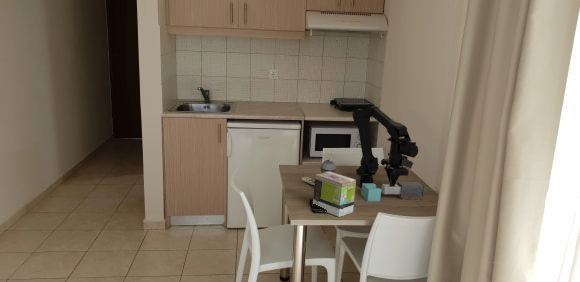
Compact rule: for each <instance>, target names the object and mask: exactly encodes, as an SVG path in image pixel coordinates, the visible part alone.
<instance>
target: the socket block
mask: <svg viewBox="0 0 580 282" xmlns="http://www.w3.org/2000/svg"><path fill="white" fill-rule="evenodd" d="M381 189H382V188H379V187H378V188H377V184H375V183H374V182H373V183H362V188H361V193H360V194H361V196H362V197H363V199H365V200H366V201H367V202H381V195H382V192H381Z"/></svg>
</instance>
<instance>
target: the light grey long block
mask: <svg viewBox="0 0 580 282" xmlns="http://www.w3.org/2000/svg"><path fill="white" fill-rule="evenodd" d="M401 188H402V186H401V185H399V184H397V183H395V185H394V186H392V183H391V177H390V183H388V184H387V183H386V184H385V183H383V184H382V185H381V188H380V189H381V194H383V195H397V194H401Z"/></svg>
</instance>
